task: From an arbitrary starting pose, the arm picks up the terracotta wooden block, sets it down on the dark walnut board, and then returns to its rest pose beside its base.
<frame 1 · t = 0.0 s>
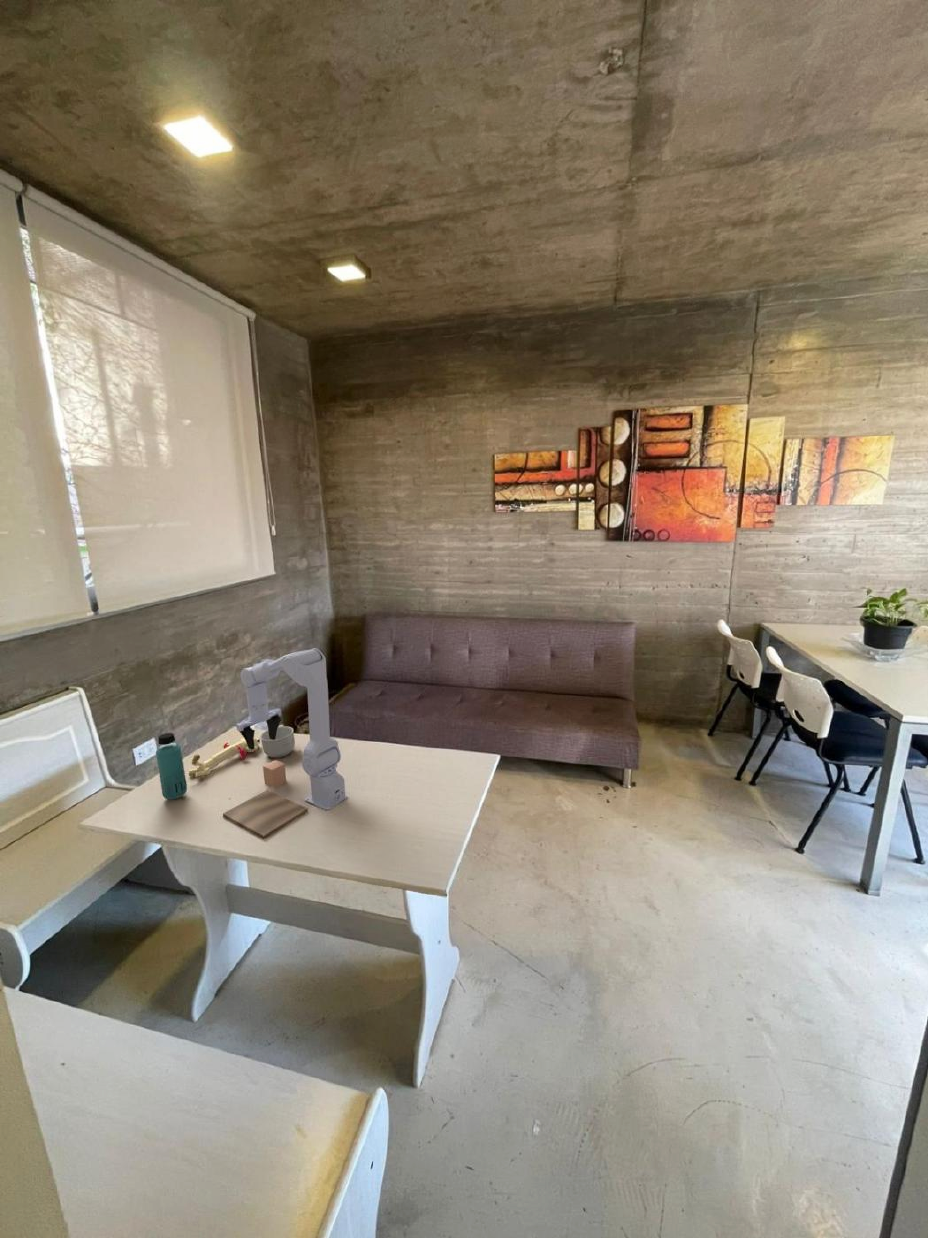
hand: (262, 743, 155), 10 cm above the table, fingers open, 7 cm apart
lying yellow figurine: (229, 762, 165), on the table
block: (275, 782, 152), on the table
board: (265, 814, 135), on the table
beverage bottle: (175, 798, 144), on the table
teacup: (281, 752, 172), on the table
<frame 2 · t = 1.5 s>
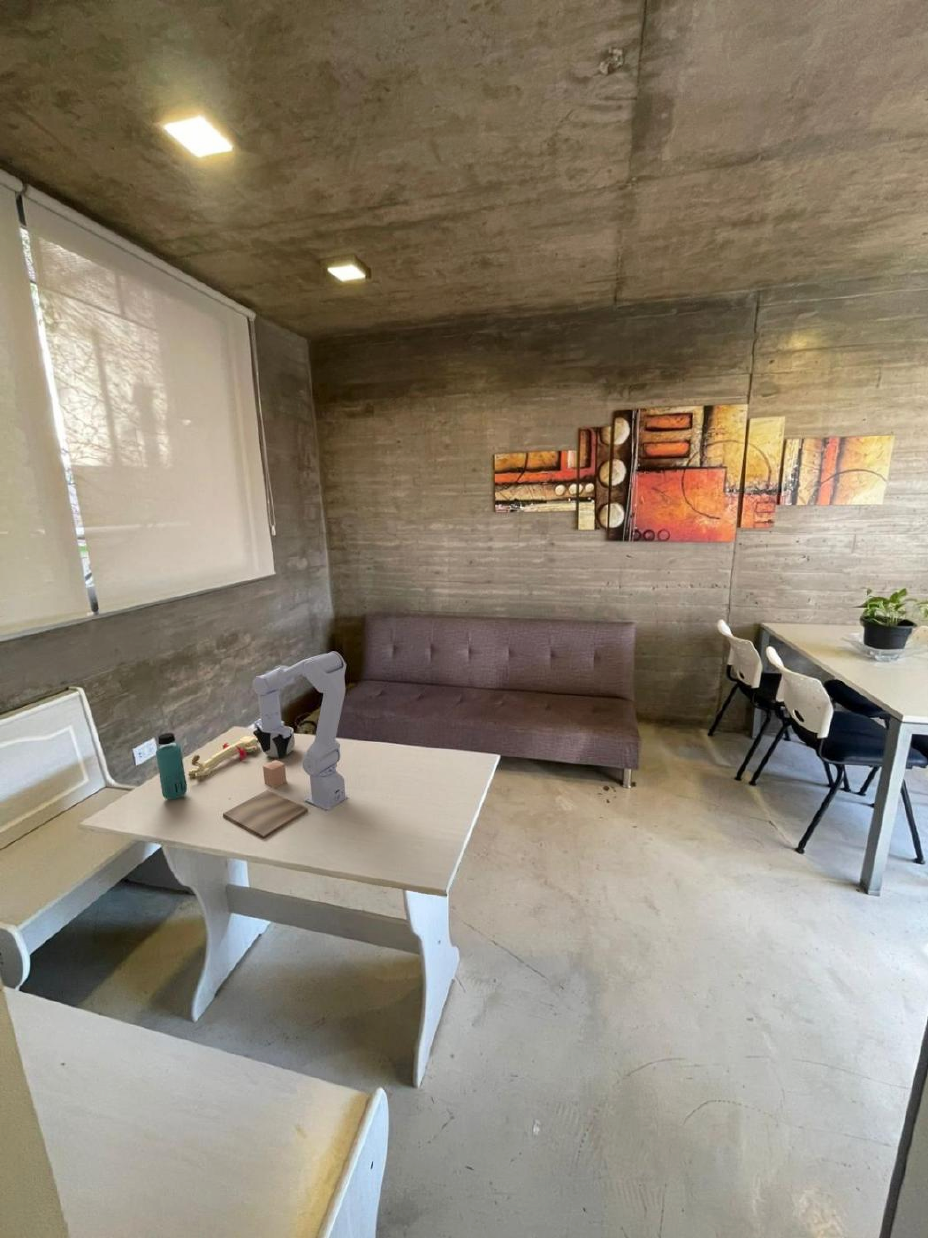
hand: (274, 753, 150), 9 cm above the table, fingers open, 7 cm apart
nothing on the table moved.
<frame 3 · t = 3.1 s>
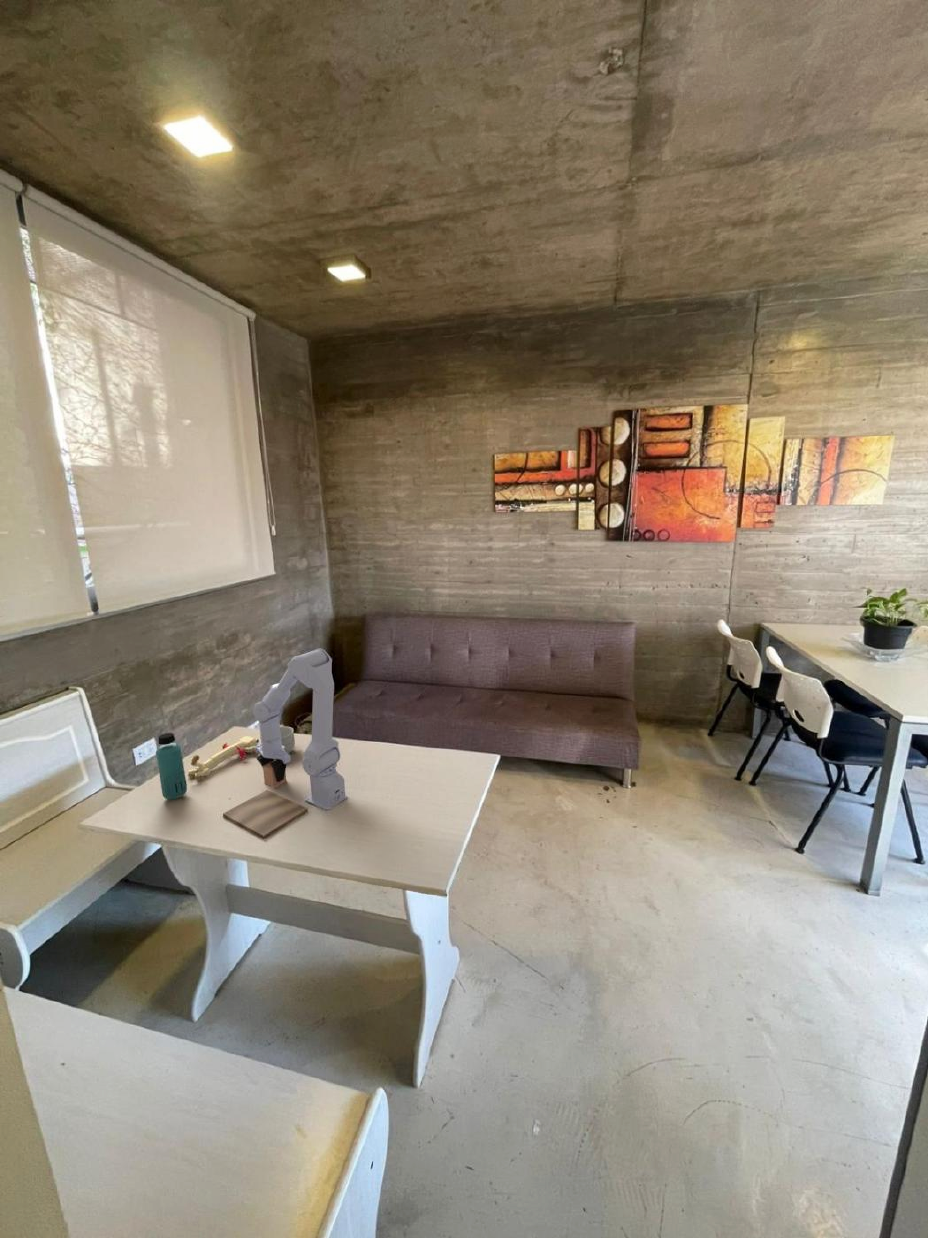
hand: (275, 778, 151), 1 cm above the table, fingers closed on block, 4 cm apart
block: (275, 782, 152), on the table, touching gripper
everything else where it was.
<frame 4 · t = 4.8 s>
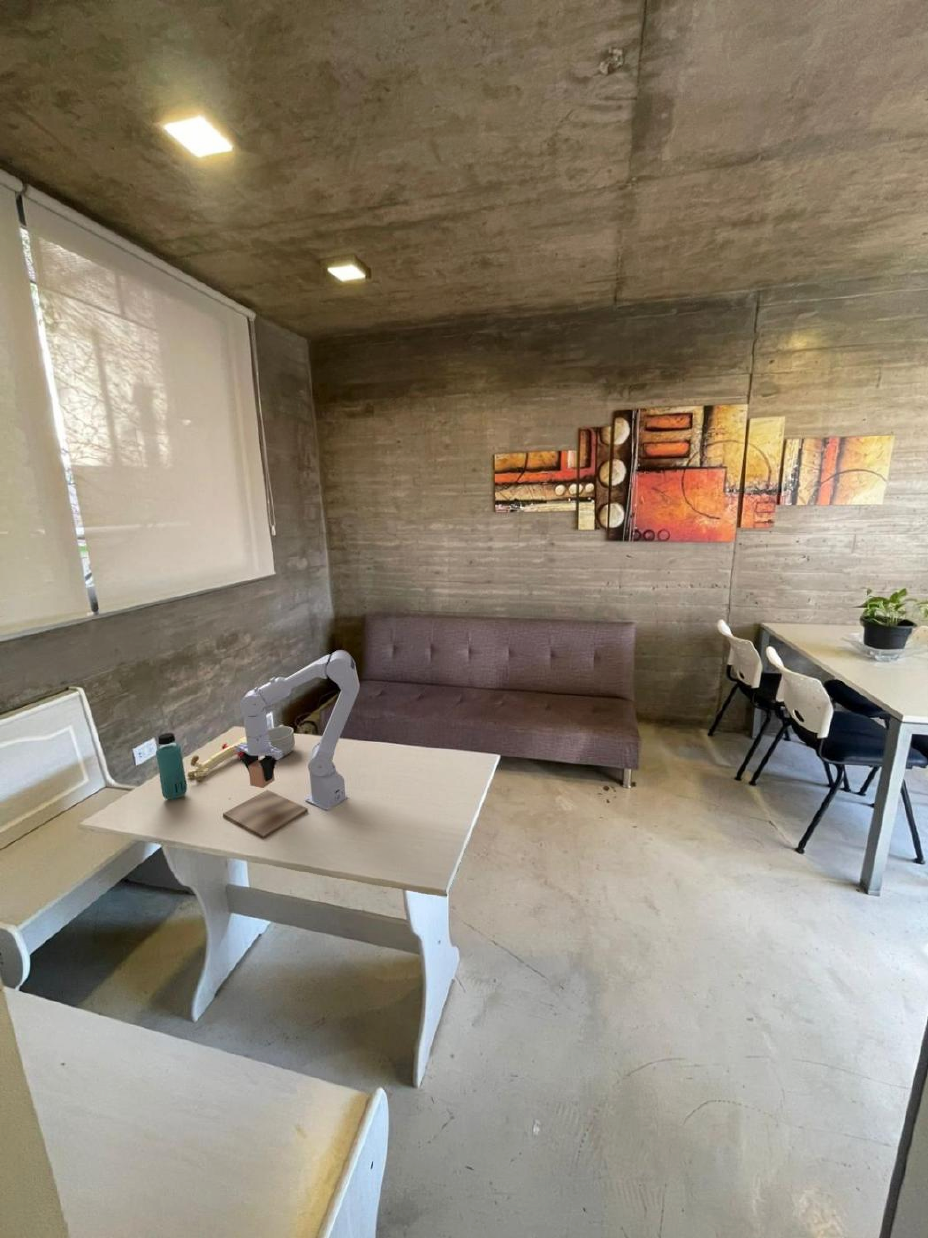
hand: (261, 778, 138), 8 cm above the table, fingers closed on block, 4 cm apart
block: (262, 782, 139), point 7 cm above the table, touching gripper
everything else where it was.
when the fingers open (3 cm above the table, at t = 6.5 s): block stays where it is, resting on board.
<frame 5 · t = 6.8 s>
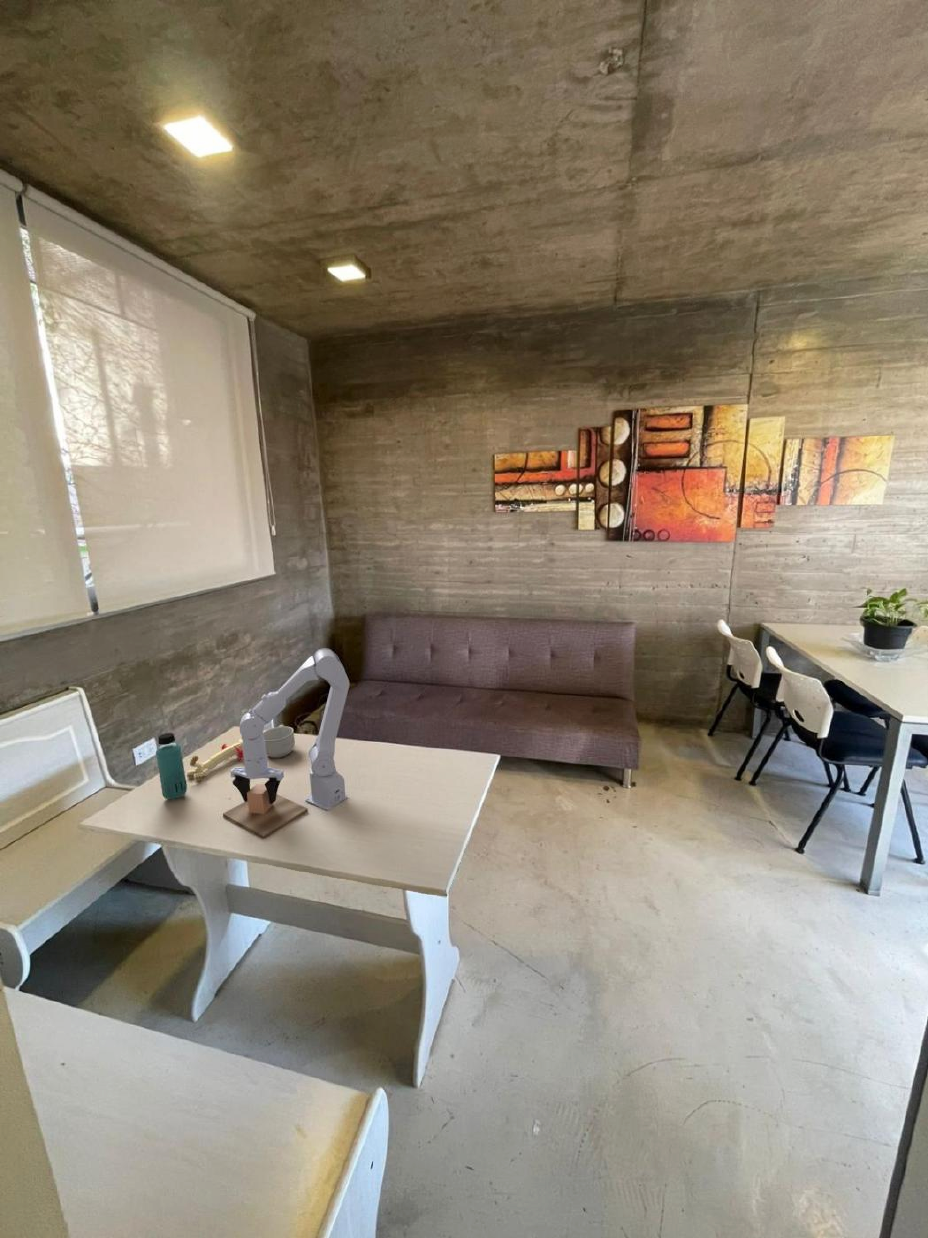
hand: (260, 801, 136), 3 cm above the table, fingers open, 7 cm apart
block: (261, 808, 136), point 1 cm above the table, touching board
everything else where it was.
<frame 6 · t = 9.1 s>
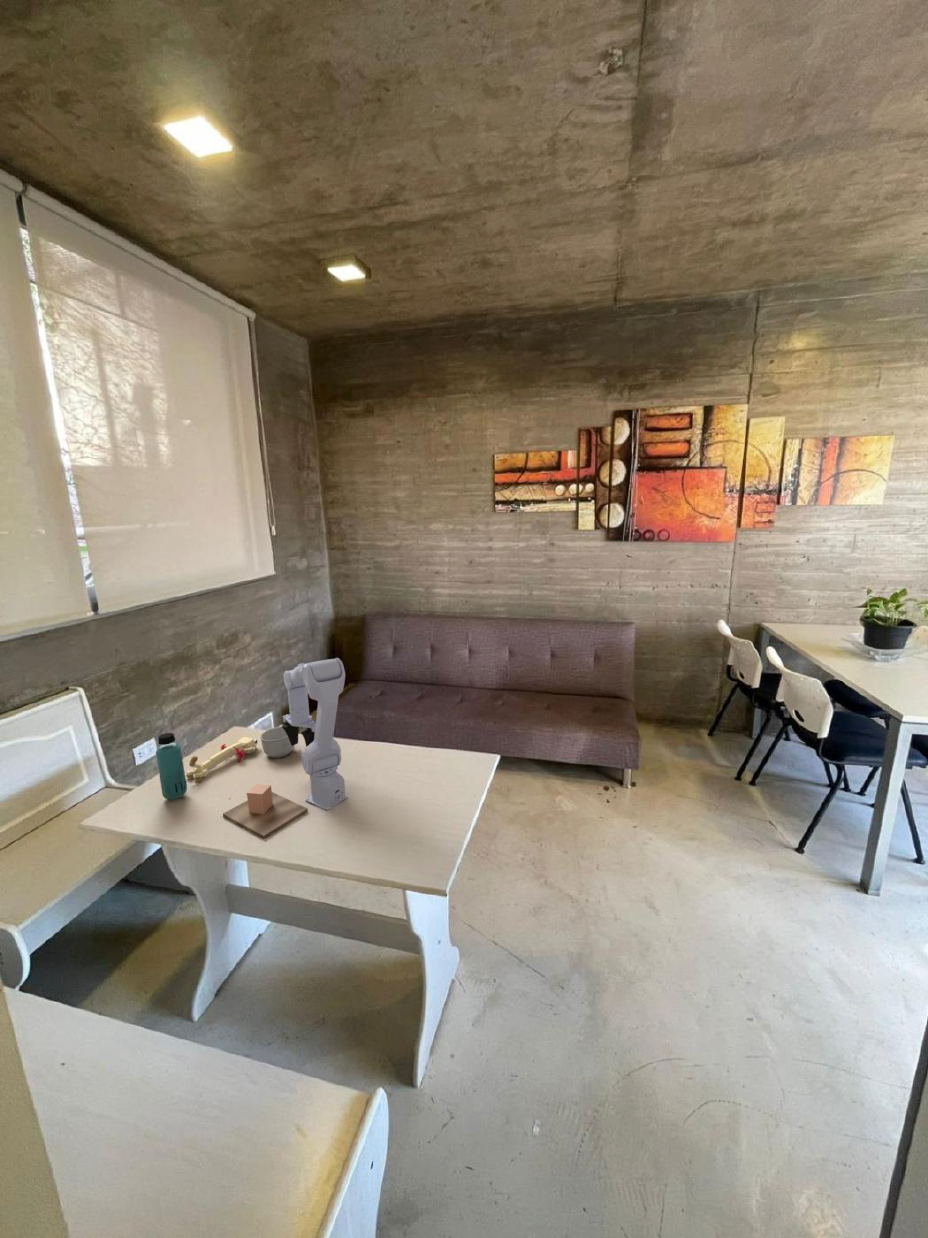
hand: (302, 747, 154), 9 cm above the table, fingers open, 7 cm apart
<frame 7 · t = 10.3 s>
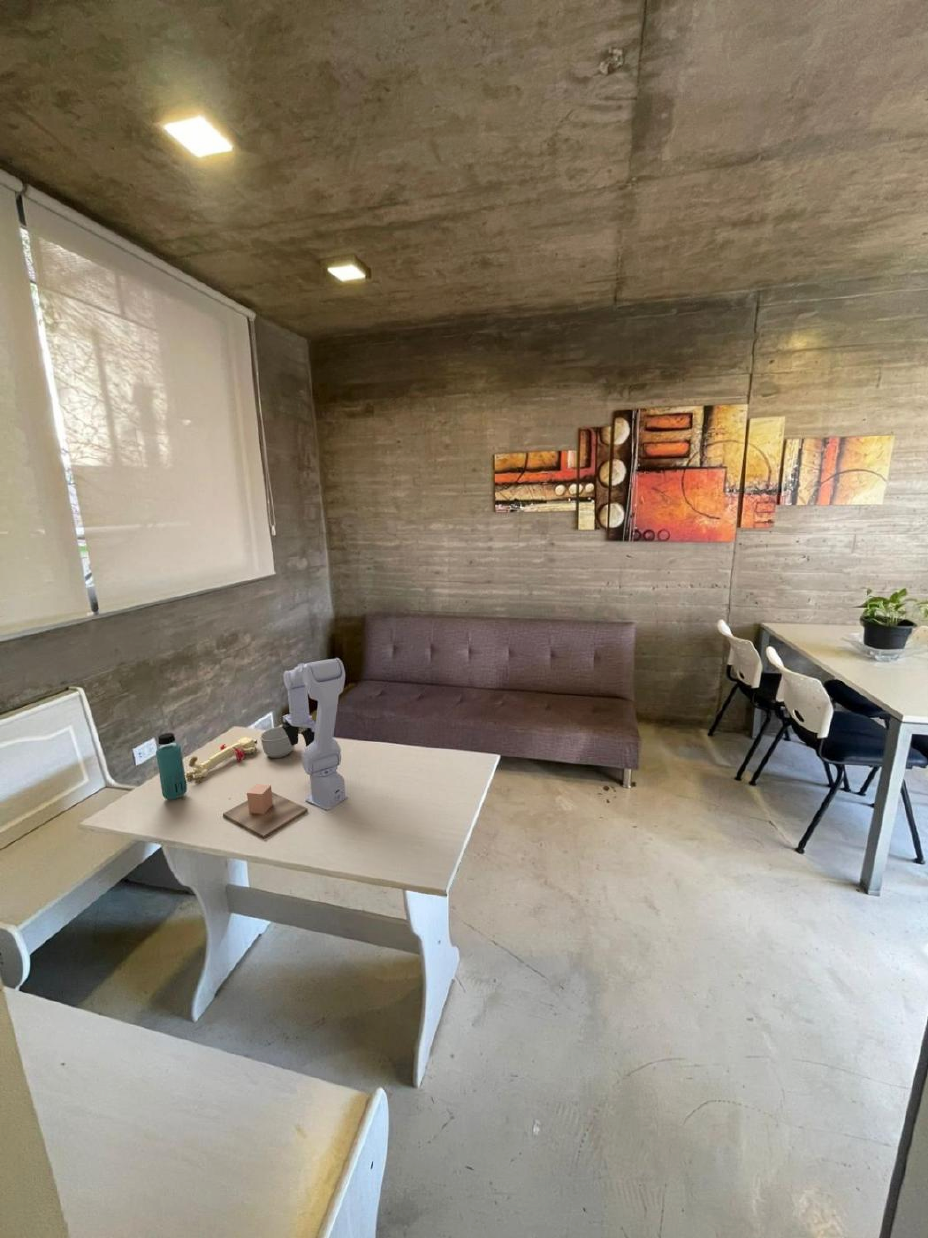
hand: (302, 747, 154), 9 cm above the table, fingers open, 7 cm apart
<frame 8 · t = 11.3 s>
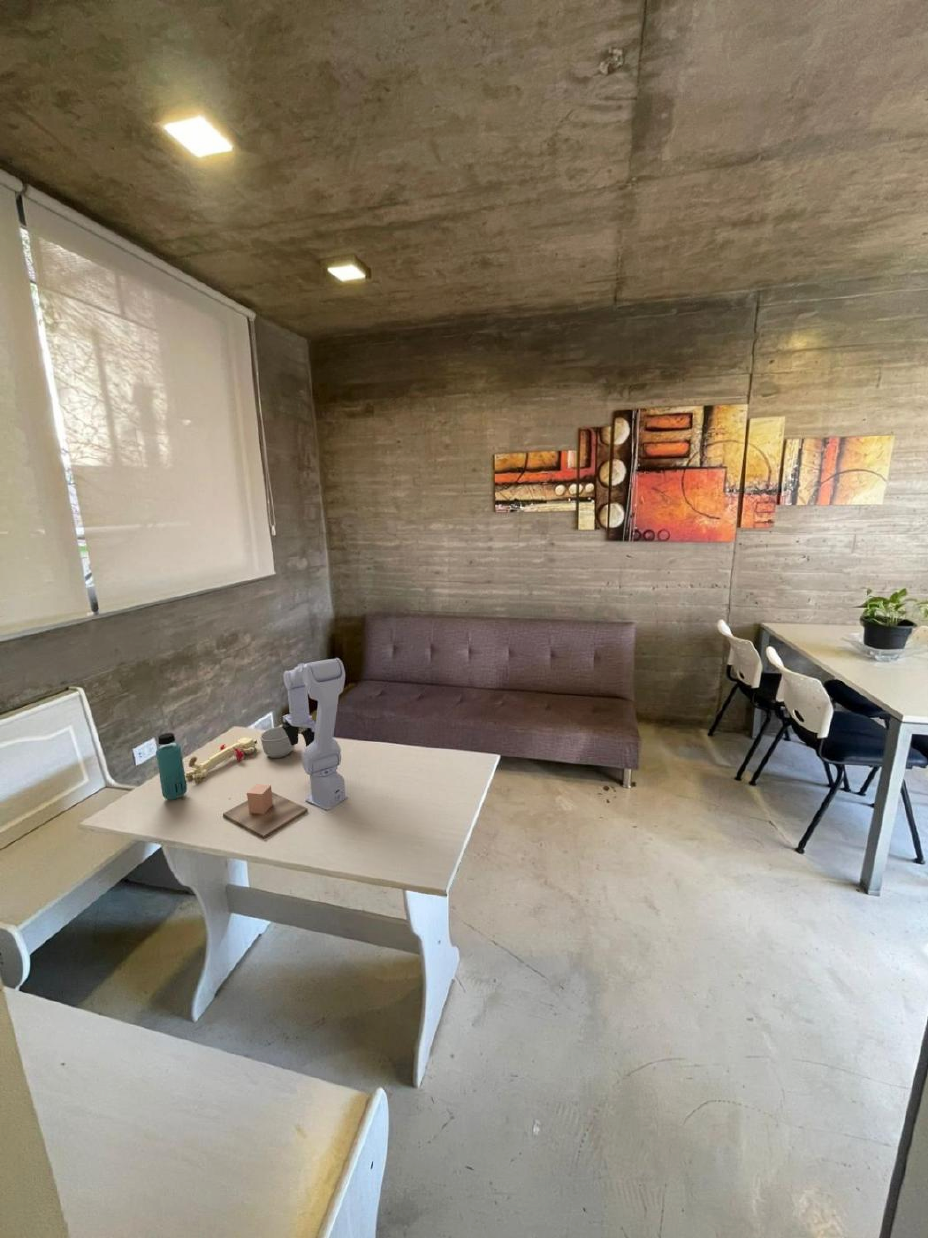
hand: (302, 747, 154), 9 cm above the table, fingers open, 7 cm apart
at the end: block inside the target area (1.0 cm from its centre), point 1.0 cm above the table; block tilted 0°; the gripper is holding nothing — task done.
